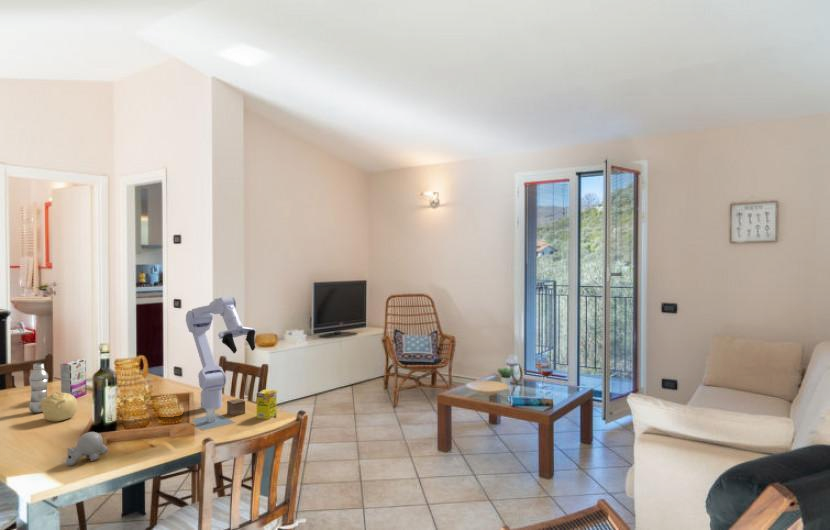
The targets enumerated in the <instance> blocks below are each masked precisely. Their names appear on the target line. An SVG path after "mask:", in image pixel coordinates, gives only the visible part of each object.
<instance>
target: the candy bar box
mask: <svg viewBox="0 0 830 530" xmlns="http://www.w3.org/2000/svg"><path fill="white" fill-rule="evenodd" d="M86 360H87V359H86V358H85V359H78V358H76V359H73V360H70V361H68V362H64V363H61V364H60V367H59V368H60V393H69V394H71V395H73V396H74V397H75V398H76V399H77V398H80V397H82V396H85V395H86V394H87V393H88V392H87V369H86V368H87V365H86V363H87V361H86Z"/></svg>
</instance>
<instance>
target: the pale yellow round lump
mask: <svg viewBox="0 0 830 530" xmlns="http://www.w3.org/2000/svg"><path fill="white" fill-rule="evenodd" d="M40 404H41V409H42V411H43V412H42V413H43V414H42V415H43V417H44V419H45V420H46V421H49V422H57V423H58V422H61V421H65V420H68V419H70V418H72V417H74V416H75V415H76V413H77V411H78V408H79V406H78V405H79V404H78V400H77V398H75V397H74V396H73V395H71V394H69V393H61V391H60V392H59V391H57V392H54V393H52V394H49V395H47V396H46V397H45V398H44V399H42V400H41V402H40Z"/></svg>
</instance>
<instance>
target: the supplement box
mask: <svg viewBox="0 0 830 530" xmlns="http://www.w3.org/2000/svg"><path fill="white" fill-rule="evenodd" d="M277 393H278V391H277V390H276V389H274V390H273V389H263V390H261V391H258V392H256V418H257V419H265V420H270V419H272V418H274V419H275V417H276V418H277V409H278V408H277V403H278V402H277Z"/></svg>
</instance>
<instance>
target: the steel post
mask: <svg viewBox="0 0 830 530" xmlns="http://www.w3.org/2000/svg"><path fill="white" fill-rule="evenodd" d="M215 414H216V409H215V408H212V407H211V408H206V410H205V416H206V422H207V423H211V422H215Z"/></svg>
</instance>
